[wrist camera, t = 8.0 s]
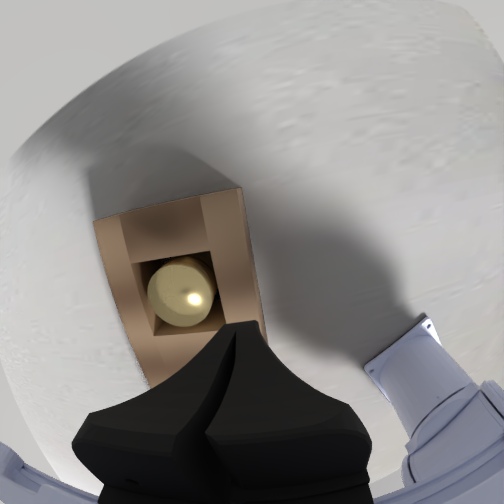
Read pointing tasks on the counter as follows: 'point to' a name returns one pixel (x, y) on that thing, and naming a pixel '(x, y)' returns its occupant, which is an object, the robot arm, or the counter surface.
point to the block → (174, 244)
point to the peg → (184, 289)
